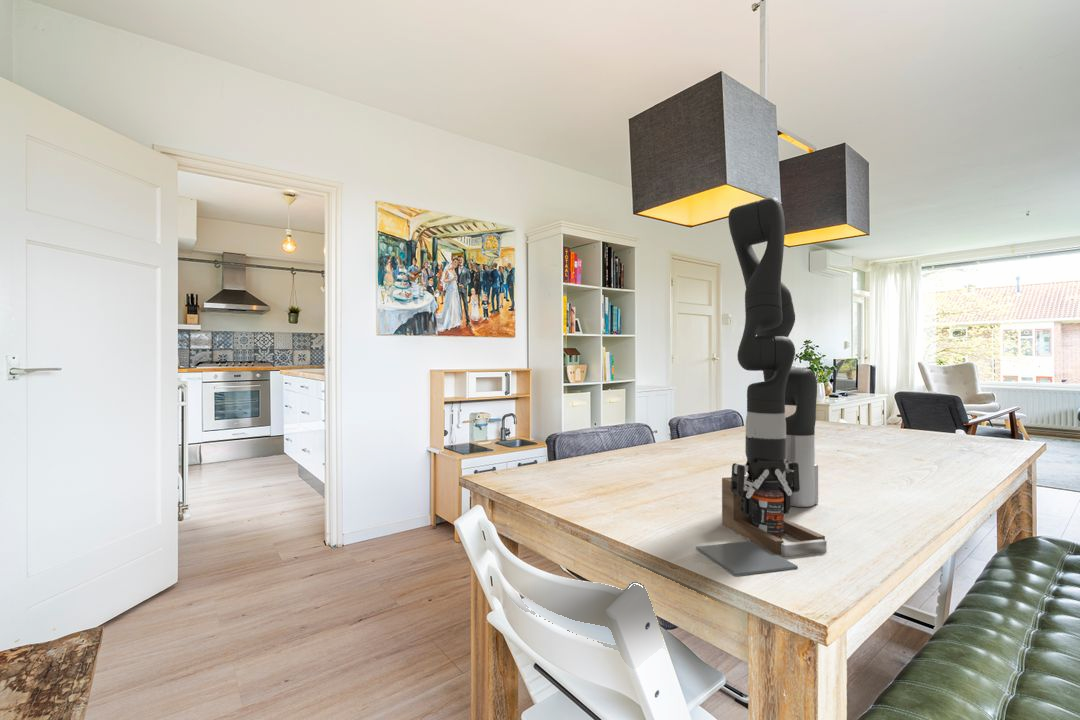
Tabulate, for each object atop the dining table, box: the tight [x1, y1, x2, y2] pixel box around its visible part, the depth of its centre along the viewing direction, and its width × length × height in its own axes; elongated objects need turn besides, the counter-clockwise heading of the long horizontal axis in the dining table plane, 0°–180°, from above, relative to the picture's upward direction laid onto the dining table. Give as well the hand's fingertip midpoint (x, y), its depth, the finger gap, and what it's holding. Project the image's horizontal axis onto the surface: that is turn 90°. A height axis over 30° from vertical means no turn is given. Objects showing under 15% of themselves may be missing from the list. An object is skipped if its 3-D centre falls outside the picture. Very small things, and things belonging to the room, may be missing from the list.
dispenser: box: [721, 475, 827, 558], centre depth 99 cm, size 11×18×10 cm, turn 14°
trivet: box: [695, 540, 799, 577], centre depth 88 cm, size 12×12×1 cm
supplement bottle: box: [751, 480, 785, 539], centre depth 100 cm, size 6×6×11 cm
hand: (765, 514), depth 100 cm, fingers open, 8 cm apart
